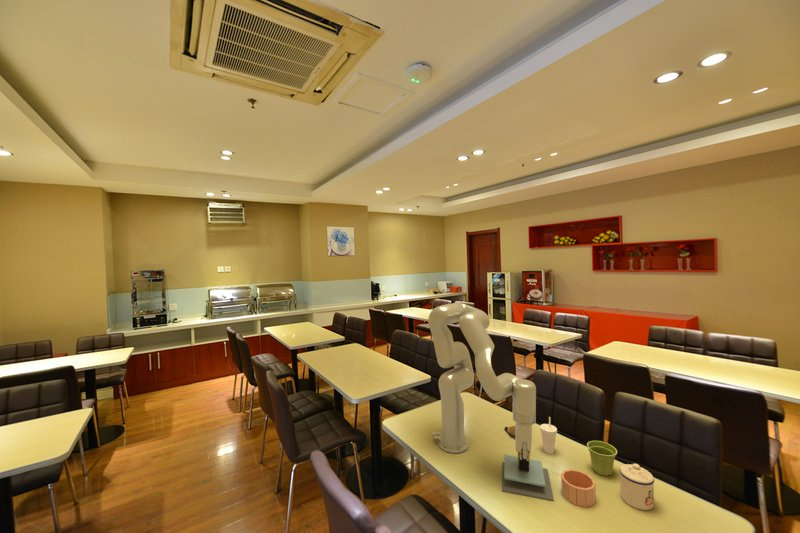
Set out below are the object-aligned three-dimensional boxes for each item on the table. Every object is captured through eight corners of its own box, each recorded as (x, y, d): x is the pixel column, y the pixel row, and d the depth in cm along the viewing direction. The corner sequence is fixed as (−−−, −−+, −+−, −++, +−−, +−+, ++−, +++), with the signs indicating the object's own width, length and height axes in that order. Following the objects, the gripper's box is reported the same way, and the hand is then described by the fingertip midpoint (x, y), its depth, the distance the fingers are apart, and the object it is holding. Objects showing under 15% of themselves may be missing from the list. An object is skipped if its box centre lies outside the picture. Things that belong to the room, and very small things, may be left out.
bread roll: (531, 440, 140) (531, 431, 140) (514, 442, 139) (514, 434, 139) (518, 427, 151) (518, 419, 151) (501, 429, 149) (501, 422, 149)
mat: (502, 491, 109) (502, 490, 109) (502, 462, 124) (502, 461, 124) (553, 501, 104) (553, 499, 104) (547, 470, 119) (547, 468, 119)
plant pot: (618, 483, 112) (617, 458, 111) (586, 474, 117) (586, 450, 116) (616, 467, 120) (616, 445, 119) (587, 460, 125) (587, 438, 124)
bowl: (564, 503, 103) (564, 486, 103) (559, 482, 112) (559, 467, 112) (598, 509, 100) (598, 492, 100) (590, 488, 109) (590, 472, 109)
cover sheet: (504, 478, 110) (504, 460, 110) (504, 456, 123) (504, 439, 123) (545, 487, 106) (545, 467, 106) (541, 462, 119) (541, 445, 119)
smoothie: (559, 456, 127) (558, 421, 127) (542, 455, 128) (541, 420, 128) (555, 447, 133) (554, 414, 133) (538, 445, 135) (538, 412, 134)
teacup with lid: (652, 516, 97) (652, 478, 97) (617, 501, 103) (616, 465, 103) (657, 494, 106) (656, 459, 106) (623, 482, 112) (623, 449, 112)
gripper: (512, 403, 123) (511, 450, 124) (513, 426, 107) (513, 479, 108) (533, 406, 121) (532, 454, 121) (537, 430, 105) (537, 484, 105)
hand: (523, 465), depth 115 cm, fingers closed on cover sheet, 4 cm apart
